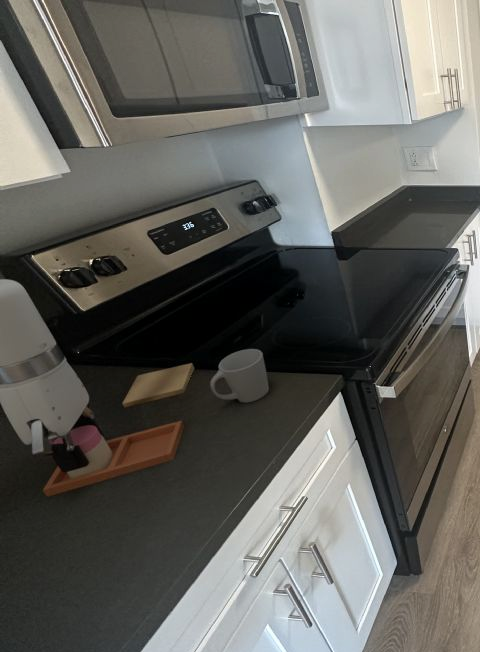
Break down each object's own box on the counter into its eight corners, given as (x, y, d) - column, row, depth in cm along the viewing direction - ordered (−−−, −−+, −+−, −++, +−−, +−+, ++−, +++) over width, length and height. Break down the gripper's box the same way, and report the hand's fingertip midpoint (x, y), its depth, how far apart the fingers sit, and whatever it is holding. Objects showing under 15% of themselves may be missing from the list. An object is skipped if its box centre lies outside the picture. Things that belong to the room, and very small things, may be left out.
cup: (281, 390, 88) (269, 356, 85) (230, 419, 81) (215, 383, 77) (262, 377, 92) (251, 344, 89) (212, 404, 85) (197, 369, 81)
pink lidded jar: (63, 485, 68) (42, 455, 65) (78, 460, 73) (59, 431, 70) (107, 472, 70) (89, 443, 67) (119, 448, 75) (102, 420, 72)
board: (125, 409, 85) (121, 403, 84) (140, 381, 93) (137, 375, 92) (185, 394, 88) (182, 388, 88) (194, 368, 96) (192, 362, 96)
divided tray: (48, 498, 66) (42, 490, 66) (72, 459, 73) (67, 451, 73) (174, 461, 72) (170, 453, 71) (185, 428, 79) (181, 420, 79)
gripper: (23, 340, 68) (77, 427, 76) (-49, 407, 54) (27, 505, 62) (83, 329, 71) (130, 413, 78) (30, 389, 56) (93, 485, 64)
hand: (84, 453), depth 70 cm, fingers closed on pink lidded jar, 5 cm apart
